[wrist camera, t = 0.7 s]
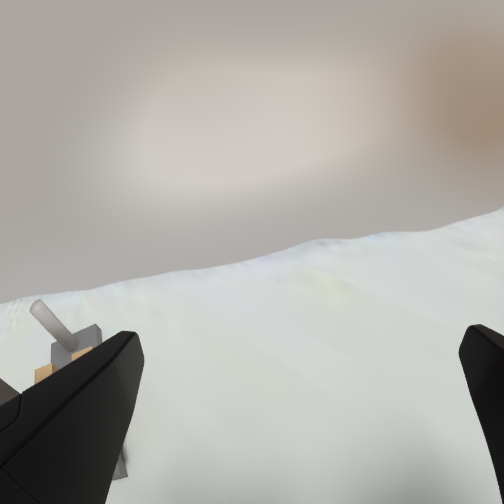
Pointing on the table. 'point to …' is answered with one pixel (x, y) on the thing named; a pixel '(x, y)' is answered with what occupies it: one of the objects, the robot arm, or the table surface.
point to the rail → (67, 358)
